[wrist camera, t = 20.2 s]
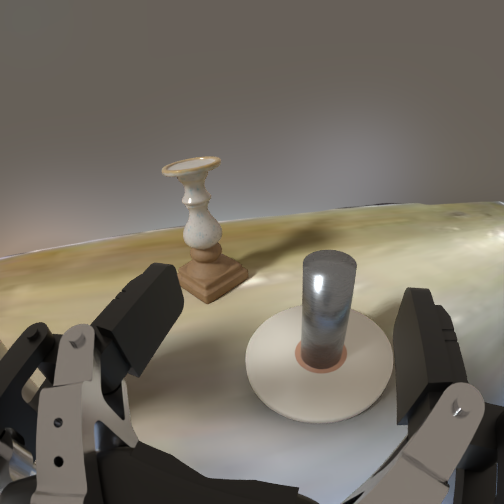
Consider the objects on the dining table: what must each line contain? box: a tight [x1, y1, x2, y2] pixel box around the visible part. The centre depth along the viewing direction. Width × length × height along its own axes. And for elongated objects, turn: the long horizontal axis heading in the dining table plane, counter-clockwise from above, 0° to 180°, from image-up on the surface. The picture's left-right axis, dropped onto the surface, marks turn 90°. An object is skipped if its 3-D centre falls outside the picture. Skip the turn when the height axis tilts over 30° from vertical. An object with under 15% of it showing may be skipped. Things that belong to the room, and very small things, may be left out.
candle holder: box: [162, 157, 248, 304], centre depth 51 cm, size 11×11×24 cm
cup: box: [301, 250, 357, 369], centre depth 31 cm, size 6×6×14 cm
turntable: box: [245, 305, 393, 424], centre depth 35 cm, size 20×20×2 cm
